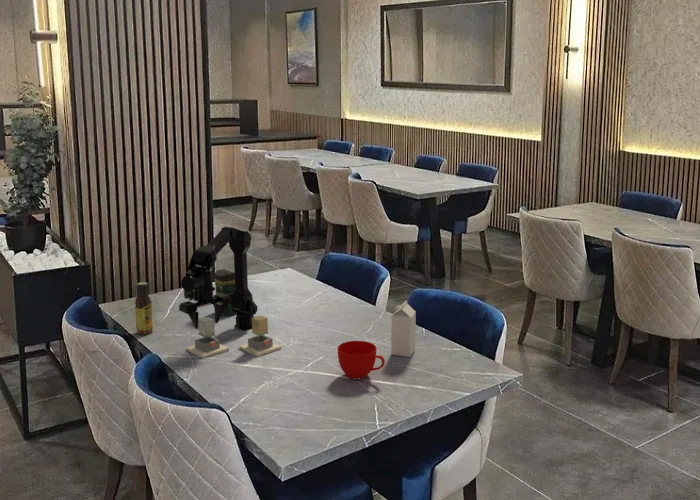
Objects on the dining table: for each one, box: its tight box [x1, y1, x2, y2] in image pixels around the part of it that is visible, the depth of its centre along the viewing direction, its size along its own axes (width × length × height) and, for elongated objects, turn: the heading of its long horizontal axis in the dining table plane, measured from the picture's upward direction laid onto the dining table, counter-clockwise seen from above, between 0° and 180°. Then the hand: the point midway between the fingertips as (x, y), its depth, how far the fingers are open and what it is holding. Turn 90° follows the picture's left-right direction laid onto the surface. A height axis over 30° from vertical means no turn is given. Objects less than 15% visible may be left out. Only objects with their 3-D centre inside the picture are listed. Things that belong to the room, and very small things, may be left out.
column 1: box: [198, 316, 216, 338], centre depth 271 cm, size 4×4×6 cm
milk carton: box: [390, 300, 417, 358], centre depth 269 cm, size 7×7×19 cm
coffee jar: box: [213, 268, 236, 317], centre depth 313 cm, size 10×8×19 cm
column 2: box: [251, 315, 269, 336], centre depth 273 cm, size 4×4×6 cm
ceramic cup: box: [337, 340, 386, 380], centre depth 249 cm, size 13×17×10 cm
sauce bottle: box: [134, 281, 154, 335], centre depth 289 cm, size 7×6×20 cm
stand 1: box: [185, 336, 230, 359], centre depth 272 cm, size 11×11×4 cm
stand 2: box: [238, 334, 282, 357], centre depth 274 cm, size 11×11×4 cm
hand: (206, 325), depth 271 cm, fingers open, 8 cm apart
